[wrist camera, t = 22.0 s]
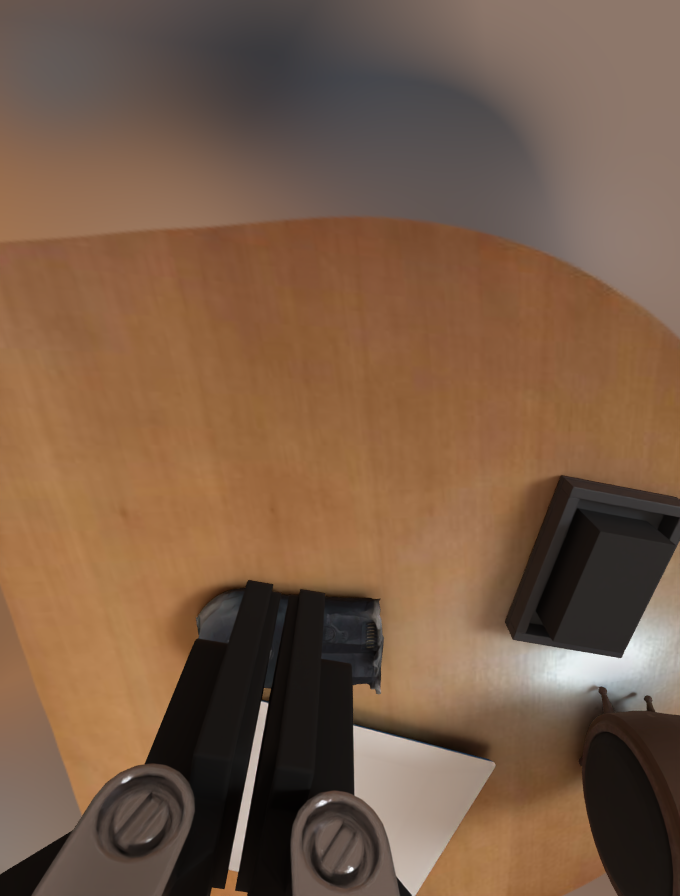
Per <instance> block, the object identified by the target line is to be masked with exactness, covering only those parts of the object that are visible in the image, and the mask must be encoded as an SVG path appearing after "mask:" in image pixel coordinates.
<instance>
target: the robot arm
mask: <svg viewBox="0 0 680 896" xmlns="http://www.w3.org/2000/svg"><path fill="white" fill-rule="evenodd" d="M272 589H273V584H269V583H263V582H257V581H251V580H248V582H247V585H246V588H245V591H244V594H243V597H242V601H241V604H240V607H239V610H238V613H237V617H236V620H235V623H234V626H233V629H232V632H231V636H230V639H229V642H228V643H223V642H217V641H211V640H205V639H199V638H197V639H196V641H195V642H194V644H193V647H192V649H191V651H190V654H189V656H188V659H187V661H186V664H185V666H184V669H183V671H182V674H181V676H180V679H179V681H178V683H177V686H176V688H175V691H174V693H173V696H172V698H171V701H170V703H169V706H168V708H167V711H166V713H165V715H164V718H163V720H162V723H161V725H160V728H159V730H158V733H157V735H156V738H155V740H154V743H153V745H152V747H151V750H150V752H149V755H148V757H147V760H146V762H145V765H138V766H134V767H132V768H130V769H127V770H125V771H123V772H120V773H119V774H118V775H116V776H115V777H114V778H112V779H111V780H110V781H108V782H107V783H106V784H105V785H104V786H103V787H102V788H101V790H100V791H99V792H98V793H97V794H96V796H95V797H94V798H93V800H92V801H91V803H90V805H89V806H88V808H87V809H86V811H85V812H84V814H83V815H82V817H81V819H80V820H79V822H78V824H77V825H76V826H75V828H74V829H73V830H72V831H71V832H69V833H68V834H66V835H64V836H63V837H61V838H59V839H58V840H56V841H54V842H53V843H51V844H49V845H48V846H47V847H45V848H43V849H41V850H40V851H38V852H36V853H35V854H33V855H31V856H30V857H28V858H26V859H25V860H23V861H21V862H20V863H18V864H17V865H15V866H13V867H12V868H10V869H8V870H7V871H5V872H3V873H2V874H0V896H210V893H211V889H212V888H220V889H225V884H226V879H227V874H228V869H229V864H230V859H231V854H232V848H233V843H234V838H235V833H236V828H237V823H238V818H239V813H240V807H241V802H242V797H243V792H244V787H245V782H246V777H247V772H248V766H249V761H250V756H251V751H252V746H253V741H254V736H255V731H256V725H257V720H258V715H259V710H260V705H261V700H262V695H263V689H264V684H265V679H266V673H267V668H268V663H269V657H270V652H271V647H272V641H273V636H274V631H275V625H276V620H277V615H278V609H279V604H280V599H281V593H280V592H274V591H272ZM324 609H325V593H321V592H315V591H310V590H304V589H300V593H299V596H297V595H291V594H290V595H289V600H288V605H287V610H286V615H285V620H284V625H283V630H282V636H281V641H280V646H279V651H278V656H277V661H276V666H275V672H274V677H273V682H272V687H271V692H270V698H269V703H268V709H267V714H266V720H265V725H264V731H263V737H262V742H261V748H260V754H259V759H258V765H257V770H256V776H255V782H254V787H253V793H252V799H251V804H250V810H249V816H248V821H247V827H246V832H245V838H244V844H243V849H242V855H241V861H240V866H239V872H238V877H237V883H236V889H235V891H242V892H248V894H247V896H412V895H411V893H410V892H409V891H408V890H407V889H406V887H405V886H404V885H403V884H402V883H401V881H400V880H399V879H398V878H397V876H396V873H395V868H394V864H393V859H392V854H391V849H390V844H389V840H388V837H387V834H386V831H385V828H384V825H383V823H382V821H381V820H380V818H379V817H378V815H377V814H376V812H375V811H374V810H373V809H372V808H371V807H370V806H369V805H368V804H367V803H366V802H364V801H363V800H362V799H360V798H358V797H356V796H355V795H354V738H353V681H352V665H351V663H345V662H339V661H332V660H326V659H321V658H322V641H323V625H324Z"/></svg>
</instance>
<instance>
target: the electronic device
mask: <svg viewBox="0 0 680 896" xmlns="http://www.w3.org/2000/svg"><path fill="white" fill-rule="evenodd" d="M244 591H245V588H239V589H233V590H230V591H227V592H224V593H222V594H220V595H218V596H216V597H215V598H214V599H212V600H211V601H210V602H209V603H208V604H207V605H206V606H205V607H204V608H203V609H202V611H201V612H200V614H199V615H198V617H196V621H197V627H198V634H199V639H205V640H211V641H217V642H223V643H228V642H229V639H230V636H231V632H232V629H233V626H234V623H235V620H236V617H237V613H238V610H239V607H240V604H241V601H242V597H243V594H244ZM297 596H299V595H297ZM288 600H289V595H283V594H281V599H280V604H279V609H278V615H277V620H276V625H275V631H274V636H273V641H272V647H271V652H270V657H269V663H268V668H267V673H266V679H265V684H264V688H271V687H272V682H273V677H274V672H275V666H276V661H277V656H278V651H279V646H280V641H281V636H282V630H283V625H284V620H285V615H286V610H287V605H288ZM379 600H380V599H372V598H343V597H327V596H325V609H324V625H323V641H322V658H321V659H326V660H332V661H339V662H345V663H351V665H352V681H353V685H356V684H369V685H370V688H371V689H375V690H376V694H381V692H380V685H381V660H382V652H383V642H384V637H383V635H382V623H381V618H380V616H379V615H380V604H379Z"/></svg>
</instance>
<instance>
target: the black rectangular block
mask: <svg viewBox="0 0 680 896" xmlns="http://www.w3.org/2000/svg"><path fill="white" fill-rule="evenodd" d="M675 547H676V545H675V544H674V543H673V542H671V541H670V540H669V539H668V538H667V537H665V536H664V535H663V534H662V533H661V532H659V531H658V530H657V529H656V528H655V527H653V526H652V525H651V524H650V523H649V522H647V521H644V520H638V519H633V518H628V517H622V516H617V515H612V514H606V513H601V512H596V511H590V510H585V509H580V508H577V511H576V513H575V516H574V518H573V520H572V523H571V525H570V528H569V530H568V533H567V535H566V538H565V540H564V543H563V545H562V548H561V550H560V552H559V555H558V557H557V560H556V562H555V565H554V567H553V570H552V572H551V575H550V577H549V580H548V582H547V585H546V587H545V589H544V592H543V594H542V597H541V599H540V602H539V604H538V607H537V609H536V612H537V614H538V616H539V618H540V620H541V621H542V623H543V625H544V627H545V628H546V630H547V632H548V634H549V636H550V637H551V639H552V641H553V642H558V643H564V644H570V645H576V646H582V647H587V648H593V649H599V650H605V651H611V652H617V653H623V652H624V650H625V648H626V646H627V644H628V642H629V640H630V638H631V636H632V634H633V632H634V630H635V628H636V626H637V624H638V622H639V620H640V618H641V616H642V614H643V612H644V610H645V607H646V605H647V603H648V601H649V599H650V597H651V595H652V593H653V591H654V589H655V587H656V585H657V583H658V581H659V579H660V577H661V575H662V573H663V571H664V569H665V567H666V565H667V563H668V561H669V559H670V557H671V555H672V553H673V551H674V549H675Z"/></svg>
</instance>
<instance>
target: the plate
mask: <svg viewBox="0 0 680 896" xmlns="http://www.w3.org/2000/svg"><path fill="white" fill-rule="evenodd" d="M268 703H269V702H268V701H265V700H261V705H260V710H259V715H258V720H257V725H256V731H255V736H254V741H253V746H252V751H251V756H250V761H249V766H248V772H247V777H246V782H245V787H244V792H243V797H242V802H241V807H240V813H239V818H238V823H237V828H236V833H235V838H234V843H233V848H232V854H231V859H230V864H229V869H228V870H233V871H237V872H239V866H240V861H241V855H242V849H243V844H244V838H245V832H246V827H247V821H248V816H249V810H250V804H251V799H252V793H253V787H254V782H255V776H256V770H257V765H258V759H259V754H260V748H261V742H262V737H263V731H264V725H265V720H266V714H267V709H268ZM353 738H354V795H355V796H356V797H358V798H360V799H362V800H363V801H364V802H366V803H367V804H368V805H369V806H370V807H371V808H372V809H373V810H374V811H375V812H376V814H377V815H378V817H379V818H380V820H381V821H382V823H383V825H384V828H385V831H386V834H387V837H388V840H389V844H390V849H391V854H392V859H393V864H394V868H395V873H396V876H397V878H398V879H399V880H400V881H401V883H402V884H403V885H404V886H405V887H406V889H407V890H408V891H409V892H410V893H411V895H412V896H415V895H416V894H417V892H418V890H419V889H420V887H421V885H422V884H423V882H424V881H425V879H426V877H427V876H428V874H429V873H430V871H431V869H432V868H433V866H434V865H435V863H436V861H437V860H438V858H439V857H440V855H441V853H442V852H443V850H444V849H445V847H446V845H447V844H448V842H449V840H450V839H451V837H452V836H453V834H454V832H455V831H456V829H457V828H458V826H459V824H460V823H461V821H462V820H463V818H464V816H465V815H466V813H467V812H468V810H469V808H470V807H471V805H472V804H473V802H474V800H475V799H476V797H477V795H478V794H479V792H480V791H481V789H482V787H483V786H484V784H485V783H486V781H487V779H488V778H489V776H490V775H491V773H492V771H493V770H494V768H495V767H496V765H495V763H494V762H493V761H491V760H489V759H486V758H482V757H478V756H474V755H470V754H467V753H463V752H459V751H455V750H451V749H448V748H444V747H440V746H436V745H432V744H429V743H425V742H421V741H417V740H413V739H409V738H406V737H402V736H398V735H394V734H390V733H387V732H383V731H379V730H375V729H371V728H368V727H364V726H360V725H356V724H353Z"/></svg>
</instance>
